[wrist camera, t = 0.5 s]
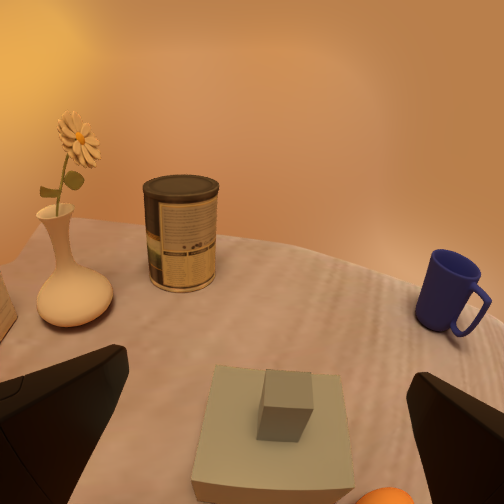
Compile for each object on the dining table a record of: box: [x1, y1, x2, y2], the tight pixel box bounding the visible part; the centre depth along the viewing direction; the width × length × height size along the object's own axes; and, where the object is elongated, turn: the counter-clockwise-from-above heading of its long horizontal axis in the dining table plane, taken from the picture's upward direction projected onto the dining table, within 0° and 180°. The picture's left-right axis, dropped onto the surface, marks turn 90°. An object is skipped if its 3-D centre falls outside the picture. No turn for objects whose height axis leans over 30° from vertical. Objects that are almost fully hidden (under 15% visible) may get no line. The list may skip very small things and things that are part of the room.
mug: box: [416, 249, 492, 337], centre depth 35 cm, size 8×12×10 cm
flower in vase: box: [36, 110, 113, 327], centre depth 30 cm, size 13×11×25 cm
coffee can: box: [143, 175, 219, 293], centre depth 42 cm, size 10×10×14 cm
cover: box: [191, 365, 355, 504], centre depth 19 cm, size 10×10×10 cm
